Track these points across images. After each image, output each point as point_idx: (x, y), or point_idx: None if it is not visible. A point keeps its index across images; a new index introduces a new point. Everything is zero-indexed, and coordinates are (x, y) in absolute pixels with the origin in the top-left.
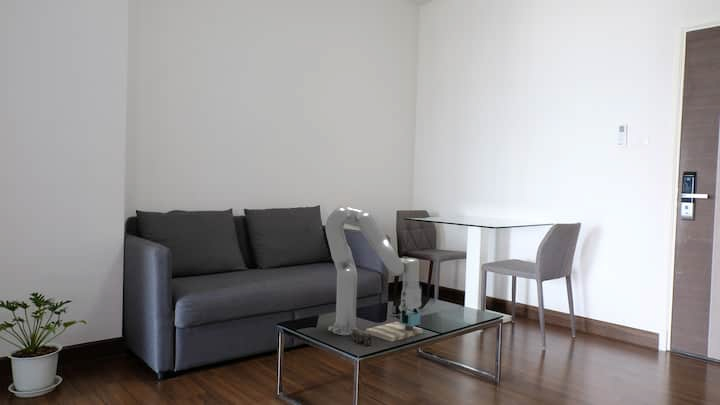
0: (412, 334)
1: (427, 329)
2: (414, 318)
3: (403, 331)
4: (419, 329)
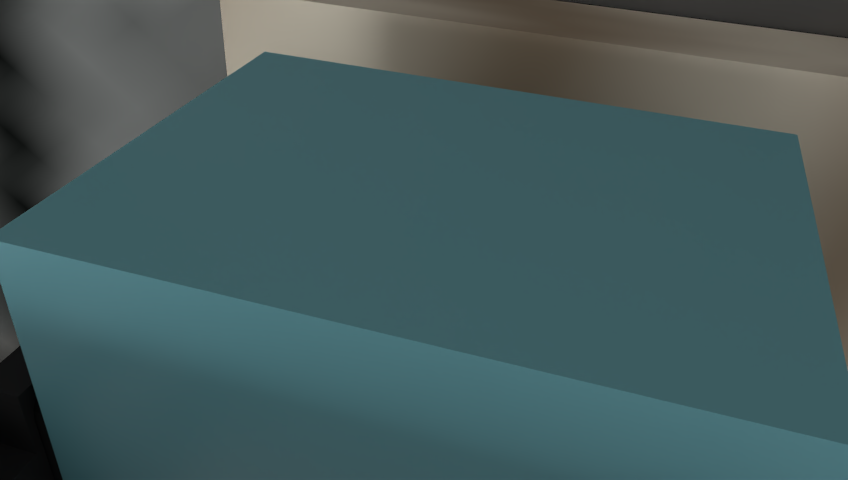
0: (677, 29)
1: (6, 39)
2: (525, 243)
3: (830, 262)
4: (326, 26)
